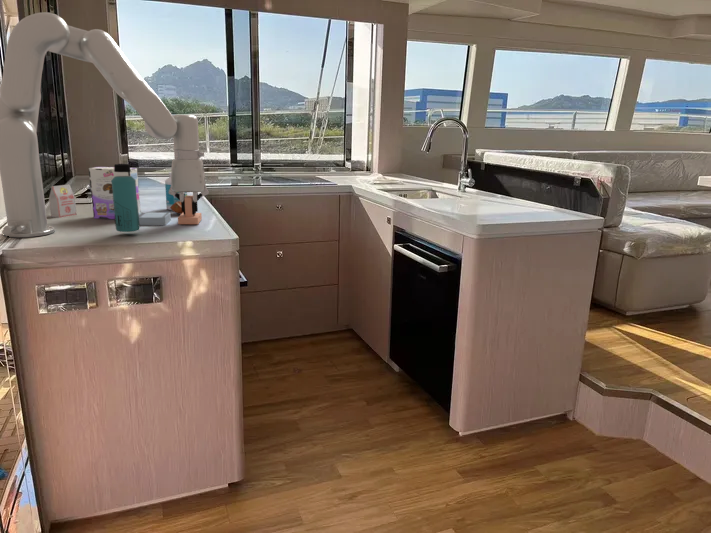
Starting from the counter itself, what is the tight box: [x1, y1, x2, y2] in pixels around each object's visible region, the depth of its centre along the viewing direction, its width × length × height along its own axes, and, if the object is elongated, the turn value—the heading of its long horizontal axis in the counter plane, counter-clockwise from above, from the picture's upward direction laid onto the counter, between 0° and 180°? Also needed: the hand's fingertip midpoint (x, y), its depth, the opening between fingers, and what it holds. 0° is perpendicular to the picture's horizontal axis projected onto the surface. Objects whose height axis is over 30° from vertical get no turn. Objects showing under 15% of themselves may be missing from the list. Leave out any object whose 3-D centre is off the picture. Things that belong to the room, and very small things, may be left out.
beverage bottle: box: [111, 163, 141, 233], centre depth 150 cm, size 6×7×20 cm
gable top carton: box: [48, 184, 78, 219], centre depth 177 cm, size 4×7×10 cm, turn 158°
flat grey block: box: [139, 212, 172, 226], centre depth 171 cm, size 9×11×2 cm
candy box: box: [87, 166, 142, 220], centre depth 175 cm, size 14×6×16 cm, turn 84°
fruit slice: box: [170, 201, 184, 215], centre depth 187 cm, size 8×7×5 cm
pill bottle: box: [164, 171, 188, 211], centre depth 195 cm, size 8×7×14 cm
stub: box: [177, 194, 203, 225], centre depth 172 cm, size 9×6×8 cm, turn 8°
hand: (189, 213), depth 172 cm, fingers closed on stub, 2 cm apart
